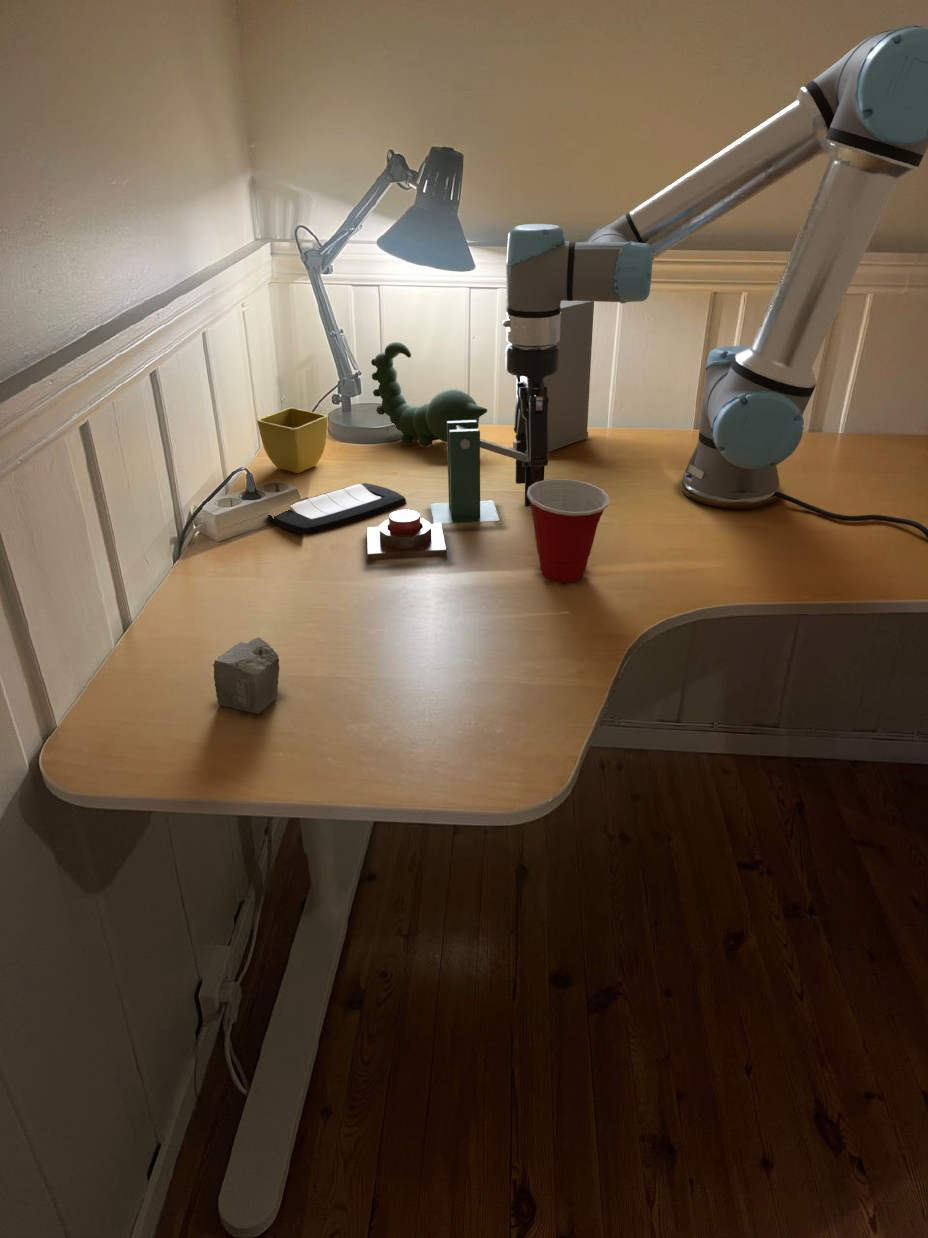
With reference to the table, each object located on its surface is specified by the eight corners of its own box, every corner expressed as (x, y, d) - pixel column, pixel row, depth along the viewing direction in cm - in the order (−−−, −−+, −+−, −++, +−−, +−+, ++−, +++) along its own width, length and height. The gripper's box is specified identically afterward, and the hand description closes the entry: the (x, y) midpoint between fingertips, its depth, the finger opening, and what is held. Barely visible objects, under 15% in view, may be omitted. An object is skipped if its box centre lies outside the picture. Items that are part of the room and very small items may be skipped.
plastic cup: (594, 598, 122) (599, 513, 116) (514, 585, 125) (516, 502, 119) (612, 563, 131) (618, 482, 125) (537, 552, 134) (540, 472, 128)
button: (419, 521, 135) (419, 508, 134) (421, 534, 131) (421, 521, 130) (389, 523, 135) (388, 510, 134) (390, 536, 131) (389, 522, 130)
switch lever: (529, 461, 144) (535, 447, 143) (536, 475, 139) (542, 461, 138) (449, 435, 141) (455, 420, 140) (453, 449, 136) (459, 433, 135)
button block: (441, 536, 139) (441, 511, 137) (447, 563, 131) (446, 537, 129) (367, 540, 138) (365, 515, 136) (368, 568, 131) (366, 542, 129)
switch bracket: (493, 507, 149) (493, 415, 141) (500, 527, 142) (500, 433, 134) (430, 510, 148) (427, 418, 140) (433, 531, 141) (430, 436, 133)
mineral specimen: (197, 718, 99) (194, 646, 97) (247, 691, 107) (244, 623, 104) (256, 732, 96) (254, 659, 94) (302, 703, 104) (301, 634, 102)
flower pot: (333, 464, 166) (328, 414, 161) (300, 480, 160) (294, 428, 155) (295, 455, 170) (290, 406, 166) (261, 470, 164) (255, 420, 159)
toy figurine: (369, 447, 178) (474, 464, 163) (356, 345, 169) (465, 353, 155) (402, 434, 184) (506, 449, 170) (391, 335, 176) (498, 341, 161)
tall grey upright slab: (563, 431, 180) (568, 295, 167) (587, 439, 176) (595, 300, 163) (512, 449, 172) (513, 307, 159) (536, 457, 168) (540, 313, 155)
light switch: (364, 474, 156) (413, 491, 146) (366, 491, 158) (415, 508, 148) (257, 505, 146) (302, 525, 136) (260, 522, 147) (305, 544, 137)
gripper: (496, 327, 141) (495, 469, 153) (517, 364, 123) (514, 523, 134) (545, 325, 142) (541, 467, 153) (573, 362, 123) (566, 520, 135)
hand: (529, 493), depth 144 cm, fingers open, 8 cm apart
